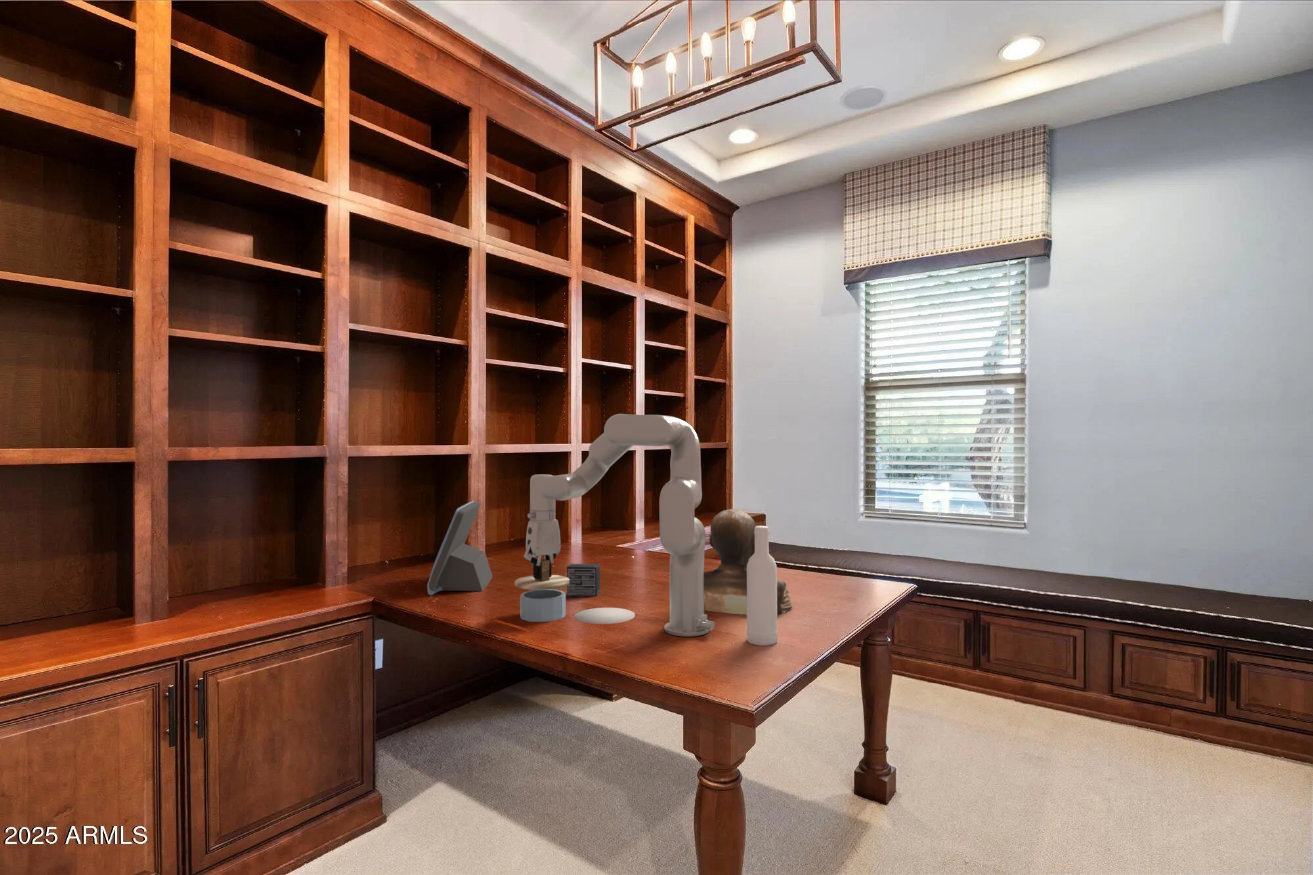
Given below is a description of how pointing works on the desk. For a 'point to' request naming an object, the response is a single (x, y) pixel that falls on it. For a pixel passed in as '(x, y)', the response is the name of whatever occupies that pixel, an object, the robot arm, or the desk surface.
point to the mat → (604, 615)
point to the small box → (583, 580)
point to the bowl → (542, 605)
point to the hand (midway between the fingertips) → (542, 576)
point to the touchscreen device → (460, 557)
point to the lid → (542, 580)
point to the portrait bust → (734, 565)
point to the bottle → (762, 592)
